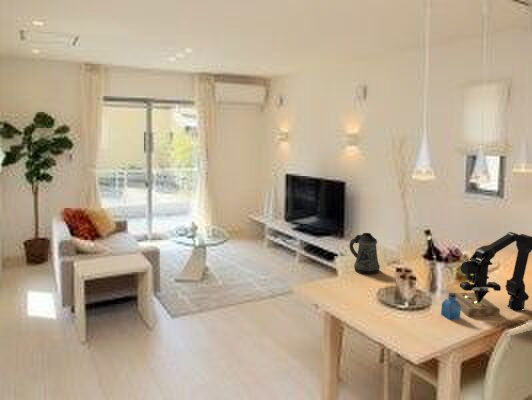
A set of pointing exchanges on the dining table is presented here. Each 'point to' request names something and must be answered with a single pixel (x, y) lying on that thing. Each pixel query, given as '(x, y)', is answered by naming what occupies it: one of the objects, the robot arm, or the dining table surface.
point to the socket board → (473, 310)
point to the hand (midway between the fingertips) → (478, 302)
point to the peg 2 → (478, 303)
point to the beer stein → (365, 254)
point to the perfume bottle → (451, 307)
